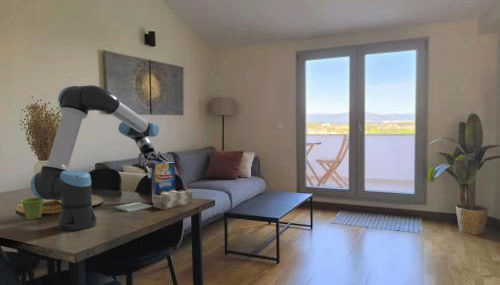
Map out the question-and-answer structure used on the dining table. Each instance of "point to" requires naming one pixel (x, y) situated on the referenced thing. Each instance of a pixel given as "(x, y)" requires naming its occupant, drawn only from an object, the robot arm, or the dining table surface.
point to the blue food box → (162, 177)
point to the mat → (133, 206)
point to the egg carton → (172, 200)
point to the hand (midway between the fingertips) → (161, 175)
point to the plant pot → (32, 207)
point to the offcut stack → (168, 193)
